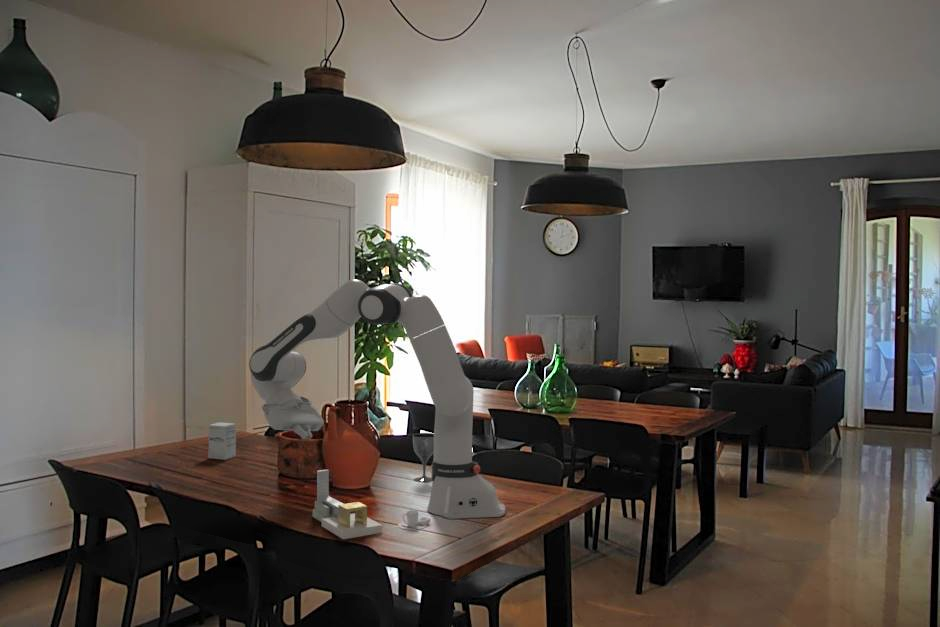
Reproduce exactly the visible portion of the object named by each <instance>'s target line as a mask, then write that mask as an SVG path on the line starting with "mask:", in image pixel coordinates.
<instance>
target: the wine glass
mask: <svg viewBox="0 0 940 627" xmlns="http://www.w3.org/2000/svg"><path fill="white" fill-rule="evenodd" d="M412 446H413V451H414V453H415V454H416V456H417V457H418V458H419V459H420V461H421V464H422V476H419V477H415V478H413V481H415V482H417V483H431V482H433V481H432V478H431V476H430V477H429V476H427V475H426V467H427V463H428V461H429V459H430V458H431V457H432V456H433V455H434V433H431V432H419V433H418V432H417V433H413V434H412Z"/></svg>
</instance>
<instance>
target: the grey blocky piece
mask: <svg viewBox="0 0 940 627" xmlns="http://www.w3.org/2000/svg"><path fill="white" fill-rule="evenodd" d="M334 499H335V500H337V499H336V498H334ZM337 501H339V500H337ZM329 517H335V516H334V515H332V514H330V513H329V507H328V506H326V505H325V504H323V503H321V502H319V501H317V500H315V501H314V509H312V518H314V519H315V520H317V521H318V522H321V523H322V519H323V518H329Z"/></svg>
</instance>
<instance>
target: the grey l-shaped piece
mask: <svg viewBox="0 0 940 627" xmlns="http://www.w3.org/2000/svg"><path fill="white" fill-rule="evenodd" d="M316 471H317V472H316V475H317V476H316V501H319V502H321V503H323V504H325V505H326V506H328V507H329V513H330V514H332V515H334V516H336V517H337V518H338V505H340V504H344V503H343V502H341V501H339V500H338V501H337V499H336V498H335V497H334V498H333V497H331V496H330V494H329V493H330V491H329V490H330V487H329V486H330V485H329V484H330V478H329V477H330V470H329V469H319V470H316ZM335 499H336V500H335Z"/></svg>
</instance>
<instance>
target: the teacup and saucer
mask: <svg viewBox="0 0 940 627" xmlns="http://www.w3.org/2000/svg"><path fill="white" fill-rule="evenodd" d="M405 516H406V520H405V518H404V517H405ZM402 519H403V521H402V522H399V523H397V527H398V528H399V529H402V530H408V531H409V530H411V531H413V530H416V531H417V530H422V529H425V528H427V527H428V525H429V523H430V522H431V518H430V517H428V516H423V517H419V511H418V510H408V511H406V513H403V515H402ZM405 524H406V525H407V526H408V527H404V526H403V525H405ZM417 525H418V526H420V527H417ZM409 527H410V528H409ZM415 527H417V528H415Z"/></svg>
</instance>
